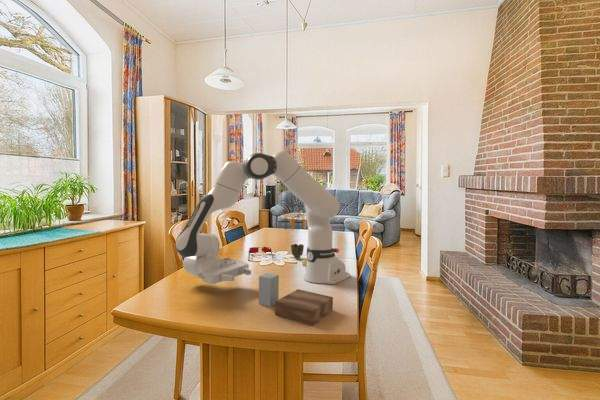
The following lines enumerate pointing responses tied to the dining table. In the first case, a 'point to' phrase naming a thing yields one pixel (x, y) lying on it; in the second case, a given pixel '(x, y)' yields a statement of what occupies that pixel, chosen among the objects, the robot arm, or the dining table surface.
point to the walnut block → (304, 307)
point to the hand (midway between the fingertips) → (241, 275)
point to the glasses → (255, 249)
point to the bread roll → (304, 262)
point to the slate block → (268, 289)
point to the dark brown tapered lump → (297, 250)
